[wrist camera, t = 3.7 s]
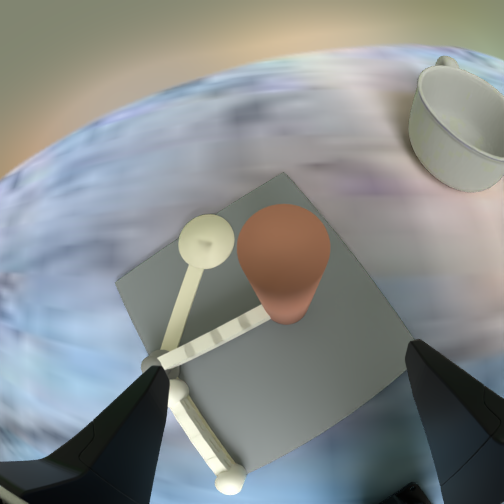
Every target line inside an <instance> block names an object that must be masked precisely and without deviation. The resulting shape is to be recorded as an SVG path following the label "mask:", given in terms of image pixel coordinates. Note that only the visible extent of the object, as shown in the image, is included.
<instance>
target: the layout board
mask: <svg viewBox="0 0 504 504" xmlns="http://www.w3.org/2000/svg"><path fill="white" fill-rule="evenodd" d="M276 204H292V205H296V206H300V207H302V208H305V209H307V210H308V211H310V212H312V213H313V214H314V215H316V216H317V217H318V218H319V219H320V221H321V222H322V223H323V225H324V226H325V228H326V230H327V233H328V235H329V239H330V257H329V260H328V263H327V266H326V268H325V270H324V273H323V275H322V278H321V280H320V282H319V285H318V287H317V289H316V292H315V294H314V296H313V298H312V301H311V303H310V305H309V307H308V310H307V312H306V314H305V315H304V317H303V318H302V319H301V320H299V321H298V322H296V323H293V324H289V325H283V324H279V323H277V322H275V321H273V320H272V319H270V320H268V321H266V322H264V323H262V324H261V325H259V326H257V327H255V328H253V329H251V330H249V331H247V332H246V333H244V334H242V335H240V336H238V337H236V338H234V339H232V340H230V341H228V342H226V343H224V344H222V345H220V346H218V347H216V348H214V349H212V350H210V351H208V352H206V353H204V354H202V355H200V356H198V357H196V358H194V359H192V360H190V361H188V362H186V363H184V364H182V365H180V366H177V367H175V368H173V369H171V372H170V374H169V375H168V378H169V380H171V379H181V380H183V381H184V382H185V383H186V384H187V385H188V388H189V395H188V396H187V399H188V401H189V402H190V404H191V405H192V407H193V408H194V409H195V411H196V412H197V415H198V416H199V418H200V419H201V421H202V422H203V424H204V425H205V427H206V428H207V429H208V430H209V432H210V433H211V435H212V437H213V438H214V440H215V441H216V443H217V444H218V445H219V447H220V448H221V449H222V450H223V452H224V453H225V454H226V456H227V458H228V459H229V460H230V462H231V463H232V464H236V463H237V464H239V465H241V466H243V467H244V468H245V470H246V473H247V474H248V473H250V472H252V471H255V470H257V469H259V468H261V467H263V466H265V465H267V464H269V463H271V462H273V461H275V460H276V459H278V458H280V457H282V456H284V455H286V454H288V453H289V452H291V451H293V450H295V449H296V448H298V447H300V446H302V445H303V444H305V443H307V442H308V441H310V440H312V439H313V438H315V437H317V436H318V435H320V434H321V433H323V432H324V431H326V430H328V429H329V428H331V427H332V426H334V425H335V424H337V423H338V422H340V421H341V420H343V419H344V418H345V417H347V416H348V415H350V414H351V413H353V412H354V411H355V410H357V409H358V408H359V407H361V406H362V405H364V404H365V403H366V402H368V401H369V400H370V399H371V398H373V397H374V396H375V395H377V394H378V393H379V392H380V391H382V390H383V389H384V388H385V387H387V386H388V385H389V384H390V383H391V382H393V381H394V380H395V379H396V378H397V377H399V376H400V375H401V374H402V373H403V372H404V371H406V370H407V368H406V364H405V355H406V351H407V347H408V343H409V342H410V341H412V340H414V338H413V337H412V335H411V334H410V332H409V331H408V329H407V328H406V327H405V325H404V324H403V322H402V321H401V319H400V318H399V316H398V315H397V314H396V312H395V311H394V309H393V308H392V306H391V305H390V304H389V302H388V301H387V299H386V298H385V297H384V295H383V294H382V293H381V291H380V290H379V288H378V287H377V286H376V284H375V283H374V282H373V280H372V279H371V278H370V276H369V275H368V274H367V272H366V271H365V270H364V268H363V267H362V266H361V264H360V263H359V262H358V260H357V259H356V258H355V257H354V255H353V254H352V253H351V251H350V250H349V249H348V248H347V246H346V245H345V244H344V243H343V241H342V240H341V239H340V238H339V236H338V235H337V234H336V233H335V231H334V230H333V229H332V228H331V226H330V225H329V224H328V223H327V222H326V220H325V219H324V218H323V217H322V215H321V214H320V213H319V212H318V211H317V210H316V208H315V207H314V206H313V205H312V204H311V202H310V201H309V200H308V199H307V198H306V197H305V195H304V194H303V193H302V192H301V191H300V190H299V188H298V187H297V186H296V185H295V184H294V183H293V182H292V180H291V179H290V178H289V177H288V176H287V175H286V174H285V173H284V172H283V173H281V174H280V175H278V176H276V177H275V178H273V179H271V180H270V181H268V182H266V183H265V184H263V185H261V186H260V187H258V188H256V189H255V190H253V191H252V192H250V193H248V194H247V195H245V196H243V197H242V198H240V199H239V200H237V201H235V202H234V203H232V204H231V205H229V206H228V207H226V208H224V209H223V210H221V211H220V212H218V213H217V214H215V215H212V214H206V215H201V216H198V217H196V218H194V219H192V220H191V221H190V222H188V223H187V224H186V226H185V227H184V228H183V230H182V232H181V234H180V236H179V238H178V239H177V240H175V241H174V242H172V243H171V244H169V245H168V246H166V247H165V248H163V249H162V250H161V251H159V252H158V253H156V254H155V255H153V256H152V257H150V258H149V259H147V260H146V261H145V262H143V263H142V264H140V265H139V266H137V267H136V268H135V269H133V270H132V271H130V272H129V273H127V274H126V275H125V276H123V277H122V278H120V279H119V280H118V281H116V282H115V284H116V287H117V289H118V291H119V294H120V296H121V298H122V300H123V303H124V305H125V307H126V309H127V311H128V314H129V316H130V318H131V320H132V322H133V324H134V326H135V328H136V330H137V332H138V334H139V336H140V338H141V340H142V342H143V344H144V346H145V348H146V350H147V352H148V354H149V356H162V355H164V354H166V353H168V352H170V351H172V350H174V349H176V348H178V347H180V346H182V345H184V344H186V343H188V342H190V341H192V340H194V339H196V338H198V337H200V336H202V335H204V334H206V333H208V332H210V331H212V330H214V329H216V328H218V327H220V326H222V325H224V324H225V323H227V322H229V321H231V320H233V319H235V318H237V317H239V316H241V315H242V314H244V313H246V312H248V311H250V310H252V309H254V308H255V307H257V306H259V305H261V302H260V300H259V298H258V297H257V295H256V293H255V291H254V289H253V288H252V286H251V284H250V282H249V280H248V279H247V277H246V275H245V273H244V271H243V270H242V268H241V265H240V263H239V260H238V256H237V240H238V237H239V234H240V231H241V229H242V227H243V226H244V224H245V223H246V221H247V220H248V219H249V218H250V217H251V216H252V215H253V214H255V213H256V212H258V211H259V210H261V209H263V208H265V207H268V206H271V205H276ZM149 356H148V357H149Z"/></svg>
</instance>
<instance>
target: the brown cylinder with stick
mask: <svg viewBox="0 0 504 504" xmlns="http://www.w3.org/2000/svg"><path fill="white" fill-rule="evenodd" d="M237 256H238V260H239V263H240V265H241V268H242V270H243V271H244V273H245V275H246V277H247V279H248V280H249V282H250V284H251V286H252V288H253V289H254V291H255V293H256V295H257V297H258V298H259V300H260V302H261V305H259V306H257V307H255V308H254V309H252V310H250V311H248V312H246V313H244V314H242V315H241V316H239V317H237V318H235V319H233V320H231V321H229V322H227V323H225V324H224V325H222V326H220V327H218V328H216V329H214V330H212V331H210V332H208V333H206V334H204V335H202V336H200V337H198V338H196V339H194V340H192V341H190V342H188V343H186V344H184V345H182V346H180V347H178V348H176V349H174V350H172V351H170V352H168V353H166V354H164V355H162V356H149V357H146V358H145V359H144V360H143V361H142V364H141V370H142V373H144V372H145V371H146V370H147V369H148V368H149V367H150V366H152V365H160V366H162V367H163V368H164V370H165V372H166V374H167V376H168V375H169V374H170V372H171V369H173V368H175V367H177V366H180V365H182V364H184V363H186V362H188V361H190V360H192V359H194V358H196V357H198V356H200V355H202V354H204V353H206V352H208V351H210V350H212V349H214V348H216V347H218V346H220V345H222V344H224V343H226V342H228V341H230V340H232V339H234V338H236V337H238V336H240V335H242V334H244V333H246V332H247V331H249V330H251V329H253V328H255V327H257V326H259V325H261V324H262V323H264V322H266V321H268V320H270V319H272V320H273V321H275V322H277V323H279V324H283V325H289V324H293V323H296V322H298V321H299V320H301V319H302V318H303V317H304V315H305V314H306V312H307V310H308V307H309V305H310V303H311V301H312V298H313V296H314V294H315V292H316V289H317V287H318V285H319V282H320V280H321V278H322V275H323V273H324V270H325V268H326V266H327V263H328V260H329V257H330V239H329V235H328V233H327V230H326V228H325V226H324V225H323V223H322V222H321V221H320V219H319V218H318V217H317V216H316V215H314V214H313V213H312V212H310V211H308V210H307V209H305V208H302V207H300V206H296V205H292V204H276V205H271V206H268V207H265V208H263V209H261V210H259V211H258V212H256V213H255V214H253V215H252V216H251V217H250V218H249V219H248V220H247V221H246V223H245V224H244V226H243V227H242V229H241V231H240V234H239V237H238V240H237Z"/></svg>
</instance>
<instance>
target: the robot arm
mask: <svg viewBox="0 0 504 504" xmlns="http://www.w3.org/2000/svg"><path fill="white" fill-rule="evenodd" d="M405 364H406V368H407V372H408V376H409V380H410V384H411V389H412V393H413V397H414V400H415V403H416V406H417V409H418V412H419V415H420V418H421V421H422V424H423V427H424V430H425V433H426V436H427V440H428V443H429V446H430V450H431V453H432V457H433V460H434V464H435V467H436V471H437V475H438V479H439V483H440V486H441V492H442V496H443V501H444V504H504V398H502V397H500V396H499V395H497V394H496V393H495V392H493V391H492V390H490V389H489V388H488V387H486V386H484V385H483V384H482V383H481V382H479V381H478V380H477V379H475V378H474V377H472V376H471V375H470V374H468V373H467V372H466V371H464V370H463V369H461V368H460V367H459V366H457V365H456V364H454V363H453V362H452V361H450V360H449V359H447V358H446V357H445V356H443V355H442V354H440V353H439V352H438V351H436V350H435V349H433V348H432V347H431V346H429V345H428V344H426V343H425V342H423V341H422V340H420V339H416V340H412V341H410V342H409V343H408V347H407V351H406V355H405ZM169 389H170V381H169V378H168V376H167V374H166V372H165V370H164V368H163V367H162V366H160V365H152V366H150V367H149V368H148V369H147V370H146V371H145V372H144V373H143V374H142V375H141V376H140V377H139V378H138V379H136V380H135V381H134V382H133V383H132V384H131V385H130V386H129V387H128V388H127V389H126V390H125V391H124V392H123V393H122V394H120V395H119V396H118V397H117V398H116V399H115V400H114V401H113V402H112V403H111V404H110V405H109V406H108V407H107V408H105V409H104V410H103V411H102V412H101V413H100V414H99V415H98V416H97V417H96V418H95V419H94V420H93V421H91V422H90V423H89V424H88V425H87V426H86V427H85V428H84V429H83V430H81V431H80V432H79V433H78V434H77V435H75V436H74V437H73V438H72V439H70V440H69V441H68V442H66V443H65V444H64V445H62V446H61V447H60V448H58V449H57V450H55V451H54V452H53V453H51V454H50V455H48V456H47V457H45V458H42V459H38V460H29V461H8V462H0V486H1V487H0V504H149V502H150V497H151V491H152V486H153V481H154V476H155V471H156V466H157V461H158V456H159V451H160V446H161V442H162V437H163V432H164V428H165V423H166V417H167V408H168V399H169ZM413 486H414V488H413V489H411V490H410V488H411V487H413ZM380 504H431V503H430V501H429V500H428V498H427V497H426V496H425V494H424V493H423V491H422V490H421V488H420V487H419V485H418V484H417V483H415V482H411V483H409V484H408V485H406V486H405V487H404V488H402V489H401V490H400V491H398V492H397V493H395V494H394V495H392V496H390V497H389V498H388V499H386V500H385V501H383V502H381V503H380Z"/></svg>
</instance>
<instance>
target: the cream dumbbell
mask: <svg viewBox="0 0 504 504" xmlns="http://www.w3.org/2000/svg"><path fill="white" fill-rule="evenodd" d="M169 381H170V389H169V399H168V407H170V409H171V411H172V412H173V414H174V415H175V418H176V419H177V421H178V422H179V424H180V425H181V426H182V428H183V429H184V431H185V432H186V434H187V435H188V437H189V438H190V440H191V442H192V443H193V445H194V446H195V447H196V449H197V450H198V451H199V453H200V454H201V456H202V457H203V458H204V460H205V462H206V463H207V464H208V466H209V467H210V468H211V469H212V471H213V472H214V473H215V475H216V476H217V478H216V480H215V486H216V488H217V489H218V490H219V491H220V492H221V493H224V494H227V495H234V494H237V493H238V492H240V490H241V489H242V486H243V484H244V481H245V479H246V476H247V473H246V470H245V468H244V467H243V466H241V465H239V464H237V463H236V464H232V463H231V462H230V460H229V459H228V458H227V456H226V454H225V453H224V452H223V450H222V449H221V448H220V447H219V445H218V444H217V443H216V441H215V440H214V438H213V437H212V435H211V433H210V432H209V430H208V429H207V428H206V427H205V425H204V424H203V422H202V421H201V419H200V418H199V416H198V415H197V412H196V411H195V409H194V408H193V407H192V405H191V404H190V402H189V401H188V399H187V396H188V395H189V388H188V385H187V384H186V383H185V382H184V381H183V380H181V379H171V380H169Z"/></svg>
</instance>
